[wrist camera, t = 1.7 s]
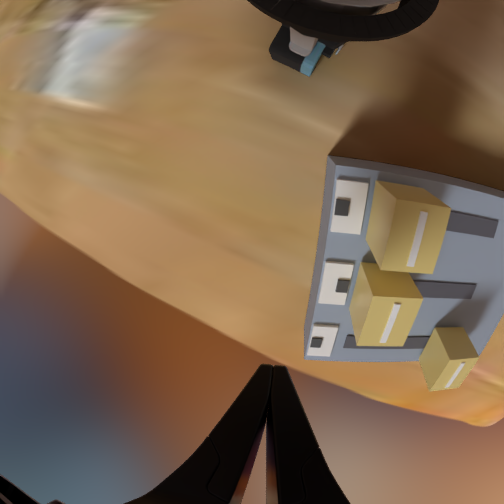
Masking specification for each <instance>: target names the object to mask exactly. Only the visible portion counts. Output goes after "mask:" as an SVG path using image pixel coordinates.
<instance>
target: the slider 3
mask: <svg viewBox="0 0 504 504" xmlns="http://www.w3.org/2000/svg"><path fill="white" fill-rule="evenodd" d="M478 359H479V355H478V354H477V352H476V350H475V348H474V346H473V344H472V342H471V340H470V338H469V337H468V335H467V333H466V331H465V330H464V328H463V327H435V328H434V330H433V332H432V334H431V336H430V338H429V340H428V342H427V344H426V346H425V348H424V350H423V352H422V354H421V355H420V357H419V362H420V365H421V368H422V371H423V374H424V377H425V380H426V383H427V386H428V389H429V391H438V390H446V389H453V388H458V387H459V386H460V385H461V383H462V382H463V381H464V379H465V378H466V376H467V375H468V374H469V372H470V371H471V369H472V368H473V366H474V365H475V363H476V362H477V360H478Z"/></svg>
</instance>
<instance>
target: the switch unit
mask: <svg viewBox="0 0 504 504" xmlns="http://www.w3.org/2000/svg"><path fill="white" fill-rule="evenodd" d="M376 180H378V181H384V182H391V183H397V184H403V185H409V186H414V187H420V188H424V189H425V190H426V191H428V192H429V193H431V194H432V195H434V196H435V197H437V198H438V199H439V200H441V201H442V202H443V203H445V204H446V205H448V206H449V207H450V208H451V212H450V216H449V220H448V224H447V228H446V232H445V235H444V239H443V242H442V246H441V249H440V252H439V256H438V259H437V262H436V265H435V268H434V271H433V274H423V273H410V272H408V273H409V274H410V276H411V278H412V279H413V281H414V283H415V285H416V286H417V288H418V290H419V292H420V293H421V295H422V297H423V301H422V304H421V306H420V309H419V311H418V314H417V316H416V318H415V321H414V323H413V325H412V328H411V330H410V332H409V334H408V336H407V339H406V341H405V343H404V345H403V346H357V345H356V340H355V335H354V330H353V325H352V320H351V315H350V311H349V307H350V303H351V299H352V295H353V291H354V287H355V283H356V279H357V275H358V271H359V267H360V262H366V263H377V262H376V260H375V258H374V255H373V253H372V251H371V249H370V247H369V245H368V243H367V241H366V234H367V229H368V223H369V218H370V212H371V206H372V200H373V194H374V188H375V181H376ZM503 313H504V191H501V190H498V189H494V188H491V187H488V186H484V185H481V184H477V183H473V182H470V181H466V180H462V179H458V178H454V177H450V176H446V175H441V174H437V173H433V172H428V171H423V170H418V169H413V168H408V167H403V166H398V165H392V164H386V163H380V162H374V161H367V160H360V159H353V158H346V157H338V156H329V155H328V158H327V169H326V179H325V189H324V198H323V206H322V215H321V223H320V231H319V238H318V245H317V252H316V259H315V266H314V273H313V279H312V285H311V291H310V297H309V303H308V309H307V314H306V320H305V325H304V359H306V360H324V361H350V362H401V361H419V357H420V355H421V354H422V352H423V350H424V348H425V346H426V344H427V342H428V340H429V338H430V336H431V334H432V332H433V330H434V328H435V327H463V328H464V330H465V331H466V333H467V335H468V337H469V338H470V340H471V342H472V344H473V346H474V348H475V350H476V352H477V354H478V355H480V354H481V352H482V351H483V349H484V347H485V346H486V344H487V342H488V341H489V339H490V337H491V335H492V334H493V332H494V330H495V328H496V327H497V325H498V323H499V321H500V319H501V317H502V315H503Z"/></svg>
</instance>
